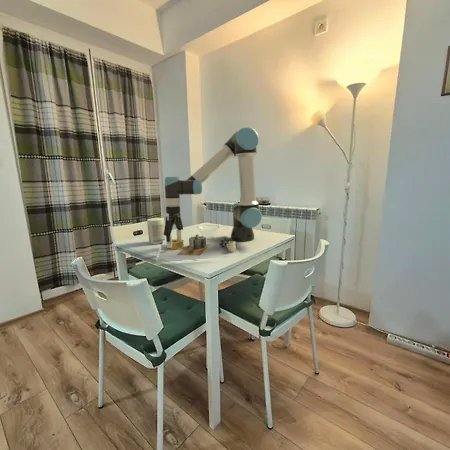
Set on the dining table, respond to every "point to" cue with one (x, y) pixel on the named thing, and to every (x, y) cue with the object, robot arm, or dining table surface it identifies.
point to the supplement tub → (156, 230)
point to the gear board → (196, 251)
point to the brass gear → (177, 244)
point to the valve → (229, 245)
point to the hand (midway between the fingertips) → (174, 244)
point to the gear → (198, 242)
